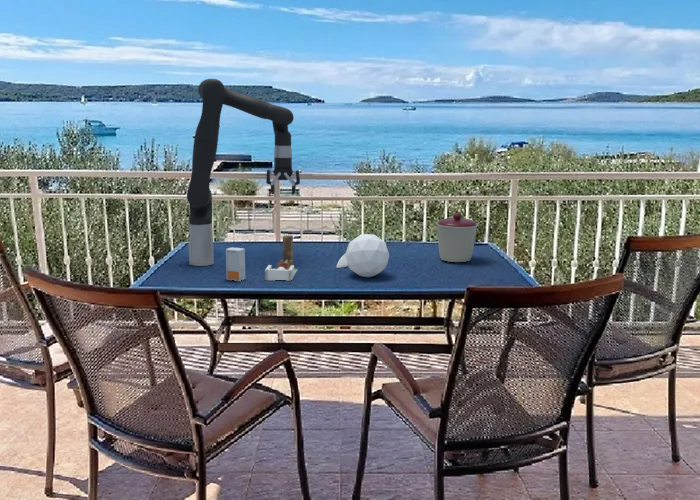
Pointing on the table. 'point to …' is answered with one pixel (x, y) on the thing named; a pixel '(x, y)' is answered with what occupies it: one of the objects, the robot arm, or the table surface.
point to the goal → (279, 274)
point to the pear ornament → (365, 255)
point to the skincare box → (235, 264)
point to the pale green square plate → (294, 271)
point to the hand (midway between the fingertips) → (283, 194)
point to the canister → (456, 238)
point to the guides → (289, 262)
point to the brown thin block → (287, 251)
